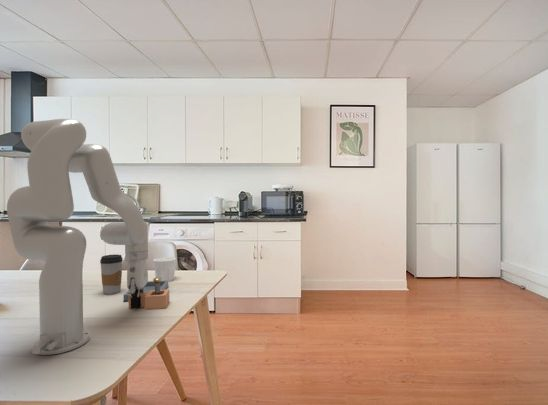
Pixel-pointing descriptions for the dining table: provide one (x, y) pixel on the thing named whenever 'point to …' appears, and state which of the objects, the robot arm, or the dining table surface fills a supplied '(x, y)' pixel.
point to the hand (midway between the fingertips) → (137, 305)
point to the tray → (148, 288)
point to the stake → (157, 285)
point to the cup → (165, 268)
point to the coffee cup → (111, 273)
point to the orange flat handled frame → (153, 299)
